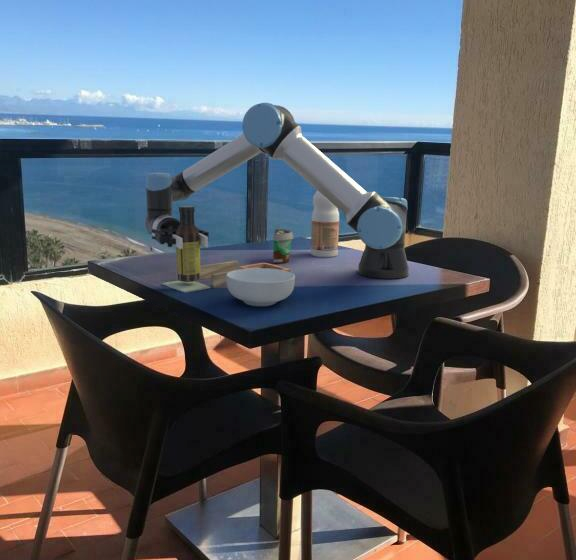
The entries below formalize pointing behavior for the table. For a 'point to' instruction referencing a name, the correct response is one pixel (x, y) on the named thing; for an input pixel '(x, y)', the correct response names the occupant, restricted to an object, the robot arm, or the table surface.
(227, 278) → the cereal bowl
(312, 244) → the fruit juice
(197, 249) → the sauce bottle
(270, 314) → the table surface
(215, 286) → the trough
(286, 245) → the food container
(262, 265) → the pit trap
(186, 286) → the pad
